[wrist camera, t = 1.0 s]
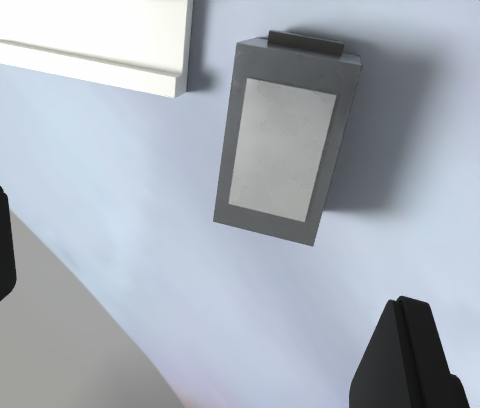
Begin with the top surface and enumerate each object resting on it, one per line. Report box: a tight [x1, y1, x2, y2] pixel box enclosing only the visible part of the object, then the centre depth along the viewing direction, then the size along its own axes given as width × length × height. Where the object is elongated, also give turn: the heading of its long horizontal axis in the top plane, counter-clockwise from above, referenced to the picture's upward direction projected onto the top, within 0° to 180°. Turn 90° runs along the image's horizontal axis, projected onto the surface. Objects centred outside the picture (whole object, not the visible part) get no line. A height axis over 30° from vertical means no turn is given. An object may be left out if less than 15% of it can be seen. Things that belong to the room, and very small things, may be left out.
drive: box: [213, 30, 362, 246], centre depth 23 cm, size 6×11×5 cm, turn 171°
